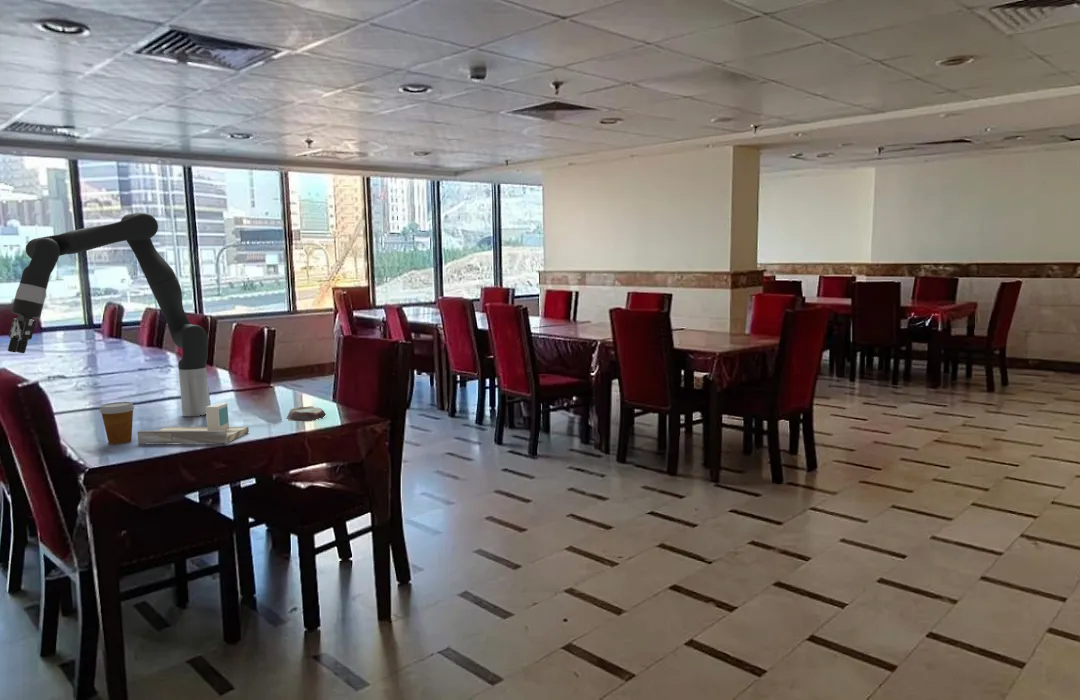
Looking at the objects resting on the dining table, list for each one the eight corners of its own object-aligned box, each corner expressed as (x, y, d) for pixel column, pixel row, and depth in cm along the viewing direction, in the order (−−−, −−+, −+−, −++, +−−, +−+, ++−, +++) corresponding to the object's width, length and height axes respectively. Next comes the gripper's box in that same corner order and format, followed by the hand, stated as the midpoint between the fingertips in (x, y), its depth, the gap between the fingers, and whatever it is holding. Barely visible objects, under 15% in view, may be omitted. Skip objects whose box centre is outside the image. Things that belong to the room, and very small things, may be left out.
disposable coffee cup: (95, 445, 229) (92, 407, 227) (114, 438, 238) (111, 401, 237) (125, 445, 228) (122, 407, 227) (143, 438, 237) (140, 401, 236)
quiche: (261, 423, 259) (260, 412, 259) (300, 412, 278) (300, 401, 277) (309, 427, 251) (309, 416, 251) (346, 415, 270) (346, 404, 269)
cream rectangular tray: (166, 433, 244) (165, 421, 244) (248, 432, 242) (247, 420, 241) (137, 444, 229) (136, 431, 228) (224, 444, 226) (223, 431, 226)
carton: (217, 427, 241) (215, 403, 240) (229, 427, 241) (228, 403, 240) (207, 431, 235) (205, 407, 234) (220, 431, 235) (218, 406, 234)
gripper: (50, 303, 227) (37, 355, 225) (36, 304, 236) (23, 354, 234) (22, 297, 221) (8, 350, 219) (8, 297, 231) (-6, 349, 228)
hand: (15, 352), depth 226 cm, fingers open, 8 cm apart
